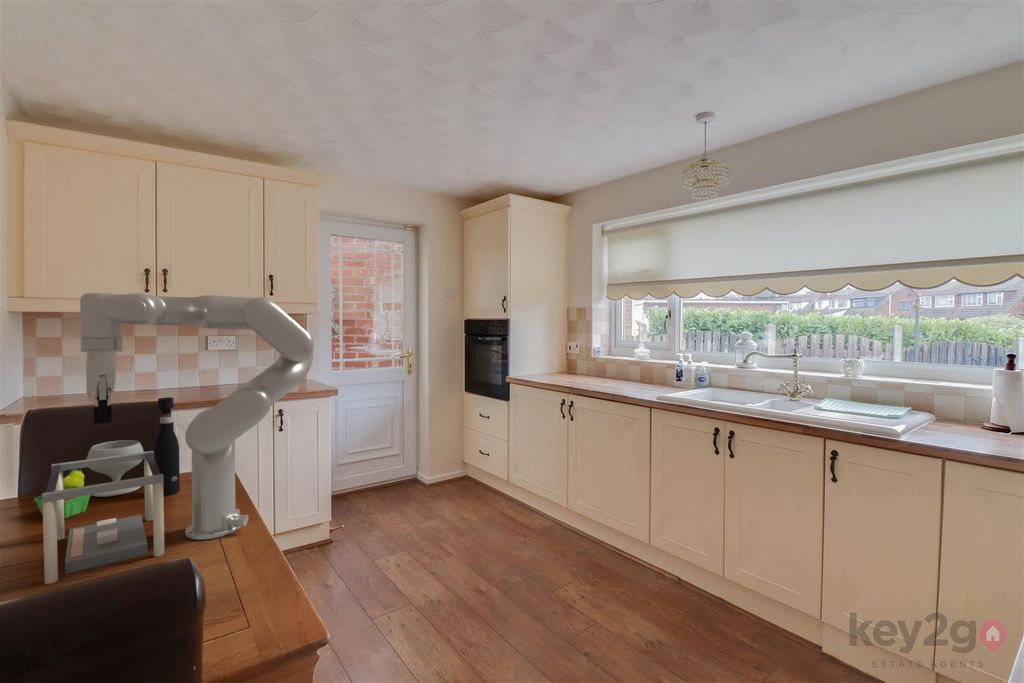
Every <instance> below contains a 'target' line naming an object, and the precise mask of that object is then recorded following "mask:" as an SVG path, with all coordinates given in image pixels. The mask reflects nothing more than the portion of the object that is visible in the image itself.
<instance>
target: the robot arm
mask: <svg viewBox="0 0 1024 683" xmlns="http://www.w3.org/2000/svg"><path fill="white" fill-rule="evenodd" d="M79 299H80V300H79V303H80V304H79V310H80V311H79V314H80V315H79V316H80V317H79V318H80V319H79V320H80V322H79V323H80V353H86V360H85V362H86V364H85V372H86V373H85V374H86V376H85V378H86V379H85V380H86V382H85V383H86V384H85V385H86V386H85V389H86V395H88V396H91V394H94V406H93V424H94V425H97V424H98V425H100V424H110V423H112V420H113V418H112V417H113V416H112V414H113V413H112V412H113V411H112V409H113V408H112V404H111V395H112V394H113V393H114V392H115V388H116V387H115V386H116V380H117V379H116V377H117V353H121V352H124V351H123V350H124V349H123V324H129V325H136V326H137V325H139V326H141V325H142V326H144V325H148V326H149V325H151V326H152V325H154V326H155V325H158V326H159V325H160V326H186V327H187V326H188V327H189V326H190V327H196V328H201V329H209V330H210V329H212V330H213V329H214V330H215V329H217V330H220V329H222V330H251V331H254V333H256V335H257V336H259V337H260V339H262V340H264V341H265V343H267V344H269V346H271V347H272V348H274V350H276V352H278V353H279V354H280V355H279V357H278V358H277V359H276V361H275V362H273V363H272V364H271V365H269V367H267V368H265V369H264V370H263V371H262V372H260V373H259V374H257V375H256V376H254V377H253V378H251V379H250V380H249V381H247V382H246V383H243V384H241V385H240V386H238V387H237V388H236V389H234V391H233V392H232V393H230V394H229V395H228V396H226V397H225V398H224V399H222V400H221V401H220V402H218V403H217V404H215V405H214V406H213V407H210V408H206V409H204V410H202V411H200V412H199V413H198V414H196V415H195V417H194V418H193V419H192V420H191V421H190V423H188V424H189V425H188V426H187V427H186V430H185V436H184V437H185V438H184V439H185V443H186V445H187V446H188V448H189V449H190V450H191V514H192V516H191V517H192V519H191V520H192V523H191V524H190V525H189V526H187V527H186V528H185V530H184V531H185V533H184V536H185V538H188V539H190V540H198V541H199V540H200V541H203V540H212V539H217V538H221V537H224V536H227V535H230V534H232V533H234V532H236V531H238V530H239V529H241V527H245V526H247V525H248V521H249V518H250V517H249V514H240V508H236V440H237V439H239V438H240V437H241V436H242V435H244V434H246V433H247V432H248V431H250V430H251V429H252V428H253V427H255V426H256V425H258V424H259V423H260V422H261V421H262V420H264V418H265V417H267V415H268V413H269V411H270V410H271V407H272V406H273V405H274V404H276V403H277V402H279V400H280V399H281V400H282V398H283V397H285V396H286V395H287V394H289V393H290V392H291V391H292V390H293V389H295V388H296V387H297V386H298V385H300V384H301V382H302V381H303V380H304V379H305V378H306V377H307V375H308V374H309V372H310V369H311V367H312V364H313V360H314V349H315V341H314V338H313V336H312V335H311V334H310V333H309V331H308V330H306V329H305V328H303V327H302V326H301V325H300V324H299V323H298V322H296V321H295V320H294V319H293V318H292V317H291V316H289V314H288V313H286V312H285V311H284V310H283V309H282V308H281V307H280V306H279V305H278V303H276V302H275V301H274V300H273V299H270V298H268V297H265V296H256V297H251V296H250V297H247V296H246V297H245V296H228V295H226V296H225V295H209V294H208V295H199V296H189V297H188V296H165V295H153V294H152V295H150V294H145V293H138V292H137V293H135V292H134V293H123V294H121V293H120V294H119V293H118V294H115V293H107V292H87V293H86V292H85V293H83V294H82V295H81V296H80V298H79Z"/></svg>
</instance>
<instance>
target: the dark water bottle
mask: <svg viewBox="0 0 1024 683" xmlns="http://www.w3.org/2000/svg"><path fill="white" fill-rule="evenodd" d="M157 404H158V405H157V408H158V410H160V417H159V423H158V434H157V436H156V439H155V442H154V446H153V452H154V459H155V462H156V464H157V466H158V469H159V471H160V474H163V476H164V482H163V497H169V496H172V495H174V496H175V495H176V494H178V493H180V491H181V490H180V489H181V486H180V485H181V484H180V482H181V481H180V480H181V479H180V477H181V475H180V445H179V440H178V437H177V435H176V433H175V430H174V428H175V426H174V424H175V423H174V420H173V416H172V410H173V409H174V408H175V407H174V405H175V404H174V397H171V396H170V397H169V396H168V397H160V398H158V399H157Z"/></svg>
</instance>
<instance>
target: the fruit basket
mask: <svg viewBox="0 0 1024 683" xmlns="http://www.w3.org/2000/svg"><path fill="white" fill-rule="evenodd" d="M83 486H85V474H84V473H83V470H81V469H72V470H71V471H70V472H69V473H68V474H67V476H65V477H63V490H65V489H71V488H77V487H83ZM91 496H92V495H86V496H80V497H74V498H69V499H64V519H67V518H70V517H72V516H73V517H74V516H75V515H79V514H81V513H84V512H86V510H87V507H88V504H89V501H90V498H91ZM34 502H35V503H36V505H37V507H38V509H39V512H40V514H41V515H42V516H43V503H42V495H40V496H36V497H34Z"/></svg>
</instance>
